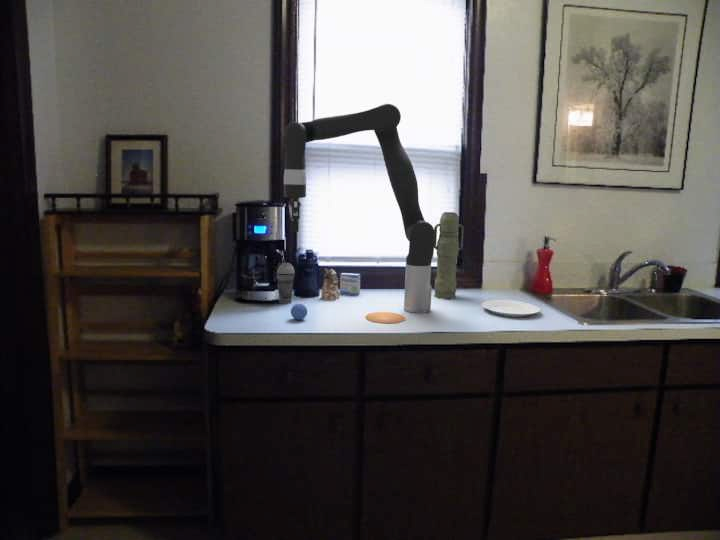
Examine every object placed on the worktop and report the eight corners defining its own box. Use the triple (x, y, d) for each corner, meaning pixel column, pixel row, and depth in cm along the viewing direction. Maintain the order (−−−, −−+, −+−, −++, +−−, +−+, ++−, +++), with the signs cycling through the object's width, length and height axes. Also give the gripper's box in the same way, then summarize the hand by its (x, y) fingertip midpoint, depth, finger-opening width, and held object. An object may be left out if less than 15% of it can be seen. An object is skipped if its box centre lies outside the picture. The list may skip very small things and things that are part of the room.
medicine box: (339, 294, 209) (339, 274, 208) (341, 292, 214) (342, 272, 212) (358, 296, 208) (358, 275, 207) (360, 293, 213) (360, 273, 211)
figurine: (333, 301, 198) (333, 271, 196) (317, 298, 201) (318, 269, 199) (342, 297, 204) (343, 268, 202) (327, 295, 207) (328, 266, 205)
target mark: (400, 312, 184) (400, 311, 184) (410, 323, 171) (410, 322, 171) (362, 312, 182) (362, 312, 182) (369, 324, 168) (369, 323, 168)
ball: (306, 317, 174) (306, 301, 173) (307, 321, 169) (307, 305, 168) (290, 317, 173) (290, 302, 172) (291, 322, 168) (291, 306, 167)
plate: (471, 311, 189) (471, 306, 189) (498, 302, 204) (498, 297, 204) (523, 323, 175) (524, 317, 175) (548, 313, 190) (549, 307, 190)
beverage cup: (291, 305, 190) (291, 252, 186) (272, 304, 191) (272, 251, 187) (297, 301, 197) (297, 250, 193) (279, 299, 198) (279, 249, 194)
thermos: (428, 294, 215) (432, 211, 208) (455, 294, 216) (460, 212, 210) (433, 299, 206) (438, 213, 200) (461, 299, 207) (467, 213, 201)
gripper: (307, 183, 166) (306, 233, 169) (304, 183, 180) (304, 228, 183) (284, 183, 165) (284, 232, 168) (283, 182, 179) (283, 228, 182)
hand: (294, 230), depth 175 cm, fingers open, 8 cm apart
